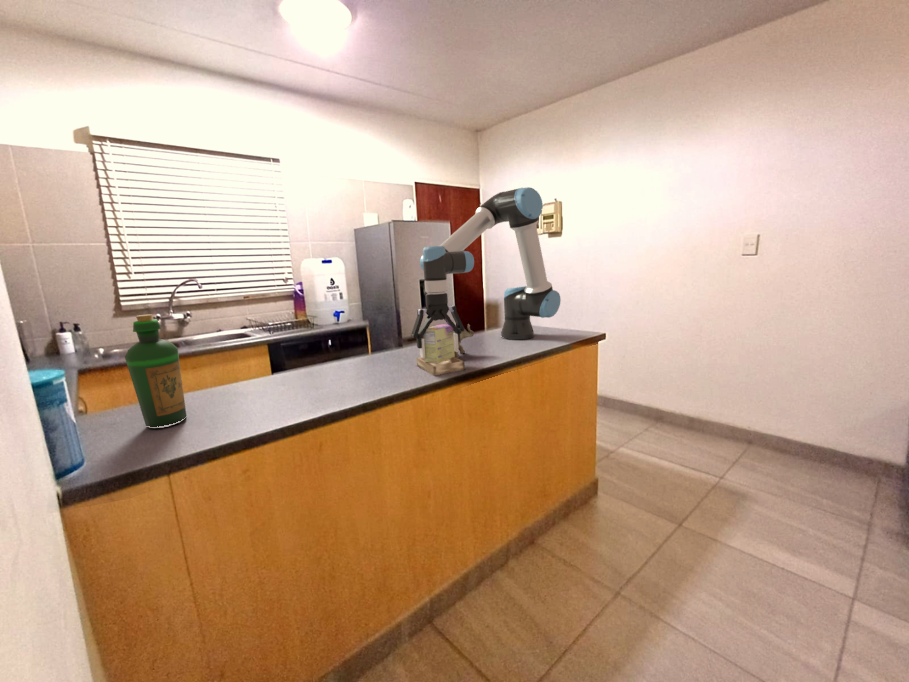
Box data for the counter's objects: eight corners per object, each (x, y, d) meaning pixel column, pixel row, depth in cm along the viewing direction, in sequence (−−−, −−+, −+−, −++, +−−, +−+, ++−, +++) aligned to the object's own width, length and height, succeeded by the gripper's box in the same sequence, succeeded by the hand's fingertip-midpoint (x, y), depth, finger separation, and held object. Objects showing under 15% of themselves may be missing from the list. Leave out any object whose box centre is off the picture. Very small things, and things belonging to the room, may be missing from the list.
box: (442, 355, 146) (440, 323, 143) (455, 357, 142) (453, 324, 140) (424, 362, 137) (422, 328, 135) (437, 364, 134) (435, 329, 131)
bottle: (183, 428, 98) (160, 316, 92) (133, 435, 95) (105, 320, 89) (197, 412, 108) (177, 310, 102) (152, 418, 105) (128, 314, 99)
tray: (445, 360, 149) (445, 353, 149) (464, 369, 137) (464, 361, 136) (417, 366, 144) (416, 358, 143) (434, 375, 131) (433, 367, 131)
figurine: (467, 367, 152) (475, 330, 147) (430, 360, 152) (437, 323, 147) (467, 359, 161) (475, 324, 157) (433, 352, 161) (439, 317, 156)
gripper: (462, 289, 144) (464, 347, 148) (398, 295, 132) (403, 357, 137) (472, 290, 137) (475, 350, 142) (406, 296, 126) (411, 362, 131)
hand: (439, 354), depth 139 cm, fingers open, 12 cm apart
